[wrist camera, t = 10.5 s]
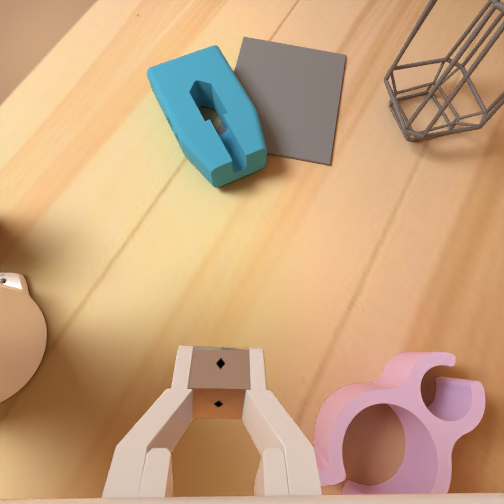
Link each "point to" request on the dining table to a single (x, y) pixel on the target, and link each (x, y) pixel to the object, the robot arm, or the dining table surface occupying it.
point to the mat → (292, 96)
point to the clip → (403, 424)
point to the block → (203, 132)
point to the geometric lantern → (404, 128)
